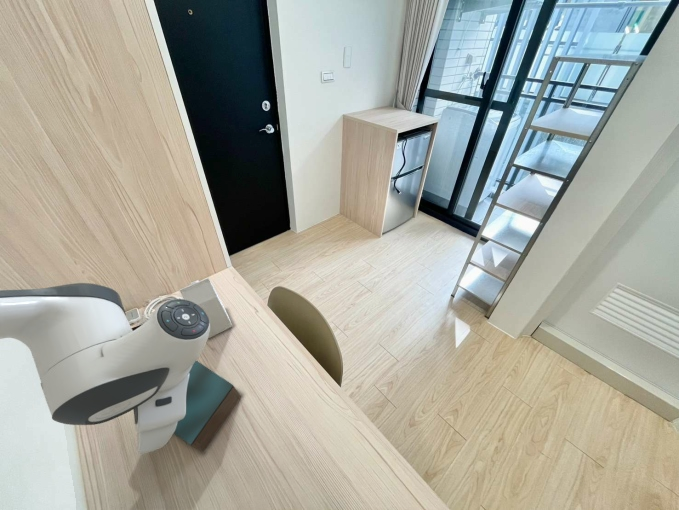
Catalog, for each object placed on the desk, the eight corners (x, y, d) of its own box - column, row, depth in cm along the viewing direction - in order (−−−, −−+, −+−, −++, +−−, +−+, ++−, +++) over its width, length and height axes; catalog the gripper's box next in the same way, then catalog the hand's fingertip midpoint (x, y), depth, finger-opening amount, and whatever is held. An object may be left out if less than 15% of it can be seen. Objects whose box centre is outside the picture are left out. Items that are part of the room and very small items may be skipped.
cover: (127, 402, 54) (126, 401, 54) (178, 349, 63) (178, 348, 62) (190, 444, 54) (190, 444, 54) (233, 385, 62) (233, 385, 62)
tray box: (157, 419, 63) (142, 411, 59) (197, 371, 72) (187, 359, 67) (203, 452, 59) (191, 445, 54) (241, 396, 67) (233, 386, 62)
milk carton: (232, 326, 81) (212, 286, 68) (208, 338, 78) (182, 299, 65) (225, 310, 85) (204, 269, 72) (202, 321, 83) (176, 281, 69)
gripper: (135, 317, 49) (123, 355, 56) (137, 441, 38) (121, 469, 45) (175, 315, 53) (159, 350, 60) (187, 426, 42) (165, 453, 49)
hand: (143, 402), depth 52 cm, fingers closed
